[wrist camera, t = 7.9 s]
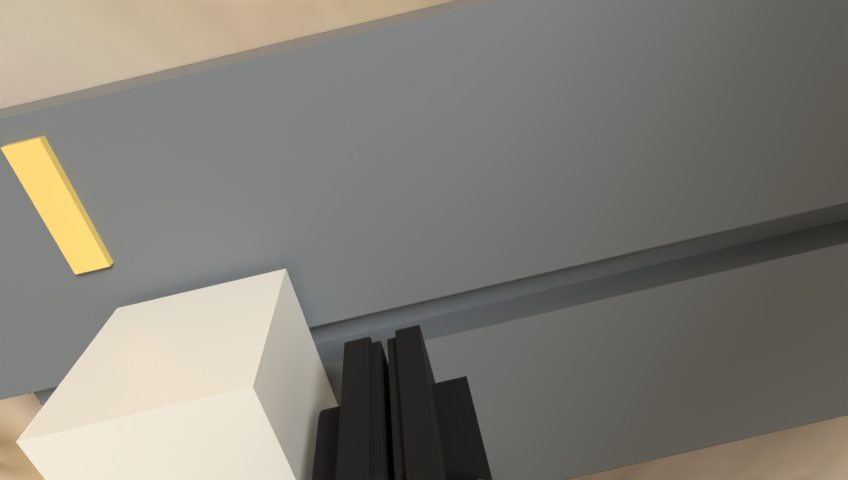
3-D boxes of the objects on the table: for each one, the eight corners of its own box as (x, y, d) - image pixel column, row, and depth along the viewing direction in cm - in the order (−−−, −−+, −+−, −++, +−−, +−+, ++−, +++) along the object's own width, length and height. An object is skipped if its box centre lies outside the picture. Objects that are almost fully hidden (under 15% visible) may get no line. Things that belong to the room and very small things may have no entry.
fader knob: (291, 248, 13) (253, 387, 9) (346, 399, 16) (338, 569, 11) (133, 285, 13) (15, 441, 9) (211, 430, 16) (149, 613, 11)
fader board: (976, -124, 13) (1119, -148, 10) (878, 343, 19) (953, 396, 17) (-88, 130, 13) (-192, 165, 11) (160, 509, 19) (130, 585, 17)
